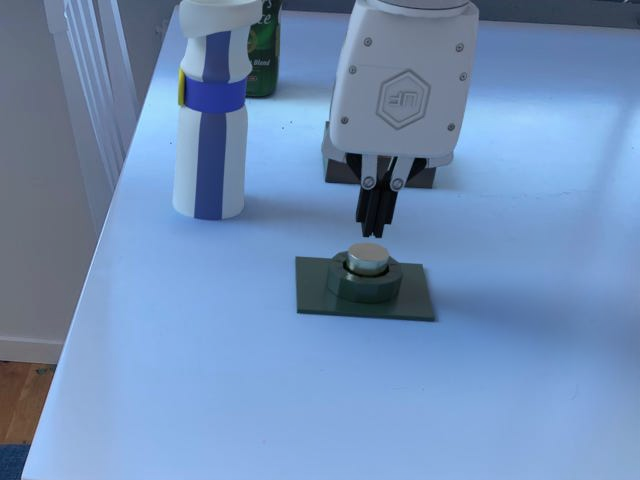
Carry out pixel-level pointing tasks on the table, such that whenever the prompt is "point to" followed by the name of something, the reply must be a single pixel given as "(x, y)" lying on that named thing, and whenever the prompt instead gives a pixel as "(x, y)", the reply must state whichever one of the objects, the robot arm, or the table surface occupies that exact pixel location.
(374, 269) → the bell button
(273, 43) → the coffee jar
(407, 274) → the dark green button base
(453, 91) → the robot arm
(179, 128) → the water bottle
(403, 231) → the table surface
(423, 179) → the lock plate
